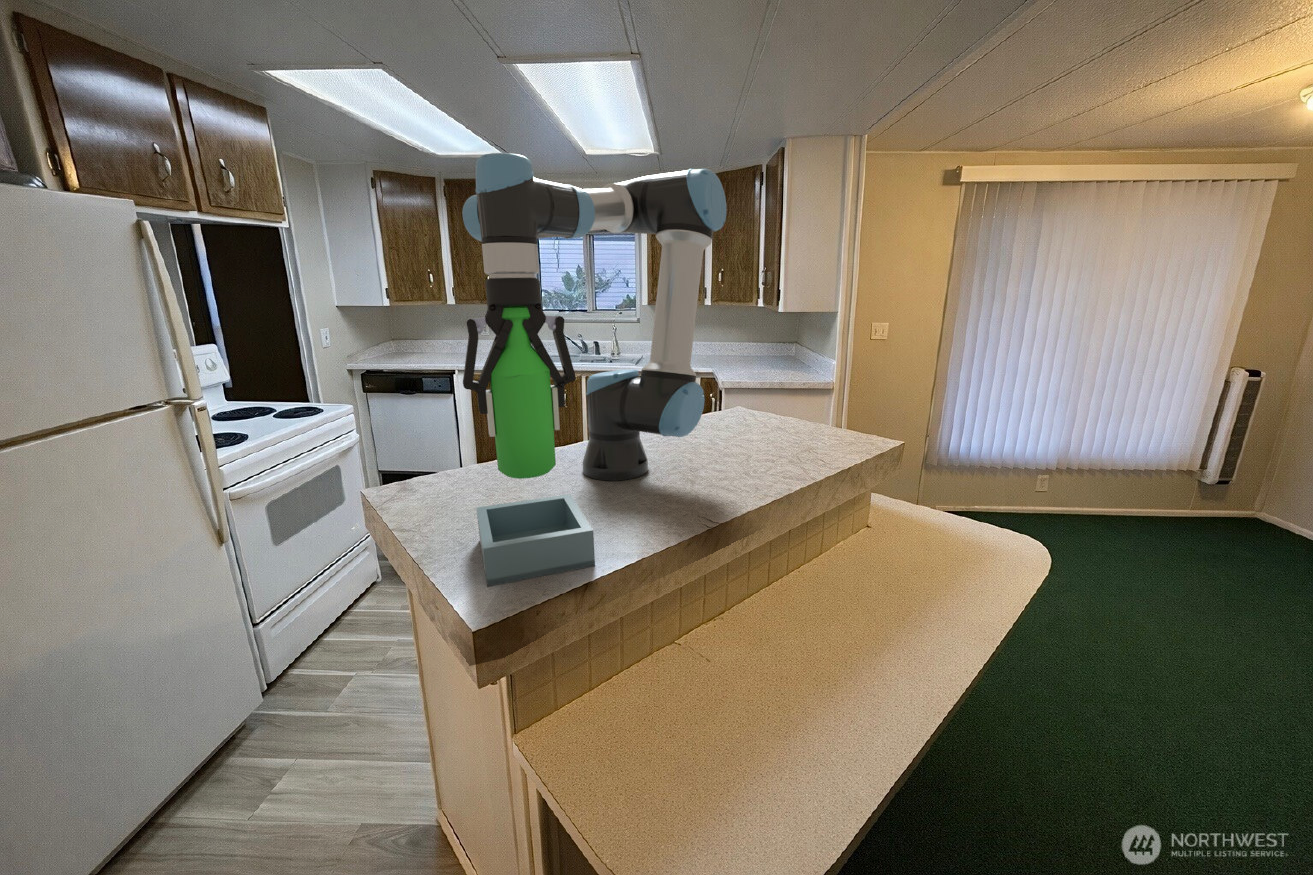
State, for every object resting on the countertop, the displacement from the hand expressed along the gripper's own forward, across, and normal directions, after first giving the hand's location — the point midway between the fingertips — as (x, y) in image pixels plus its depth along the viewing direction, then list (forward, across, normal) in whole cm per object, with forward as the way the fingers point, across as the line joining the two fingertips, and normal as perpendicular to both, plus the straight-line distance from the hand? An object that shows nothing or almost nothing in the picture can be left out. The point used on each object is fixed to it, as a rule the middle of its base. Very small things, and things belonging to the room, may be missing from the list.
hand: (524, 431), depth 83 cm
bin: (+20, 0, 0) cm, 20 cm away
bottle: (+7, 0, 0) cm, 7 cm away
